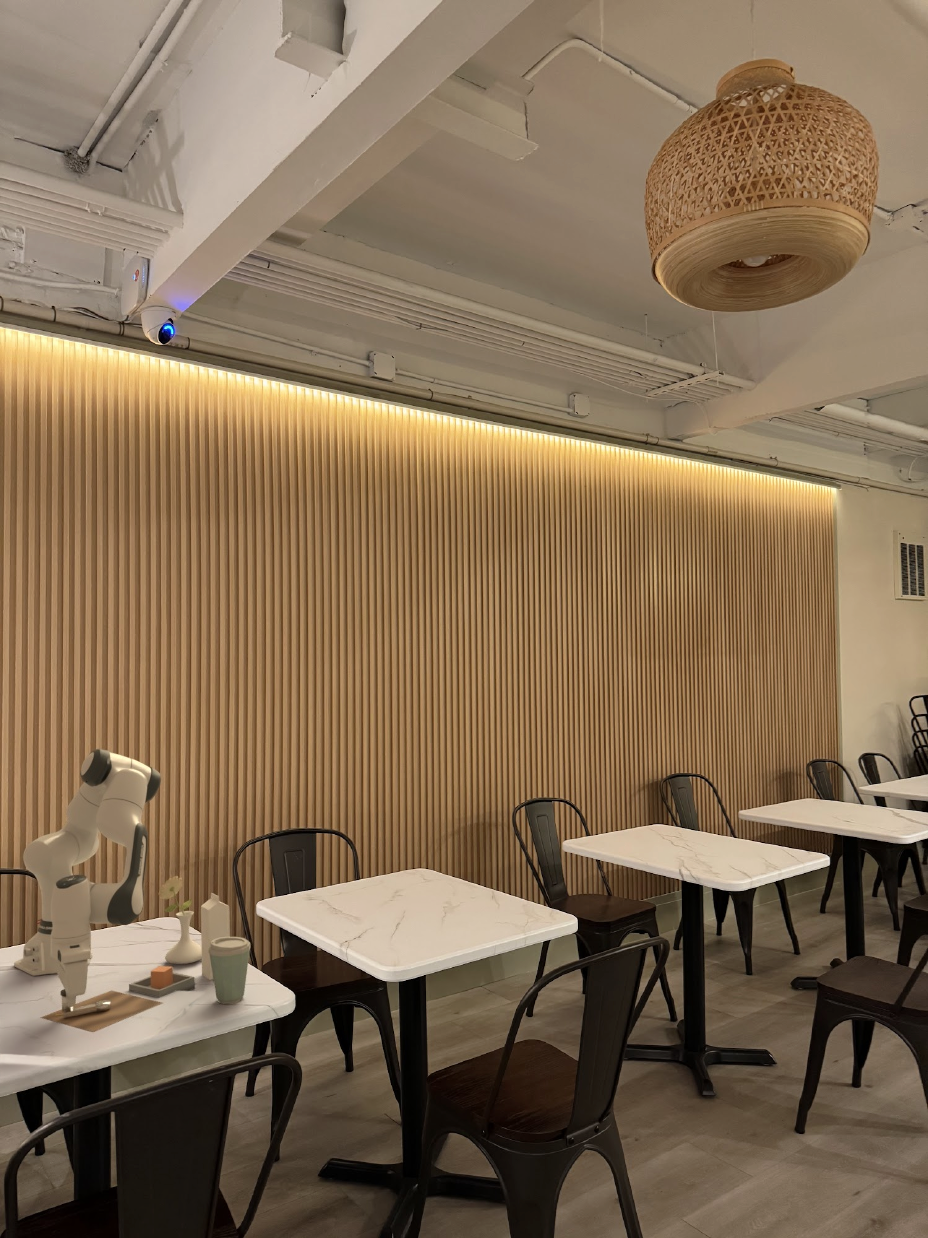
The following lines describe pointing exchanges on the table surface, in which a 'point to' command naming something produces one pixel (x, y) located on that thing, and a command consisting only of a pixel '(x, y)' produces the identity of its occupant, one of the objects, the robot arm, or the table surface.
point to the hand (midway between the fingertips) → (71, 1005)
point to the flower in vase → (185, 947)
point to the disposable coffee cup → (229, 967)
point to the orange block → (161, 977)
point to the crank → (82, 1007)
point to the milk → (212, 929)
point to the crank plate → (97, 1020)
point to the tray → (179, 984)
